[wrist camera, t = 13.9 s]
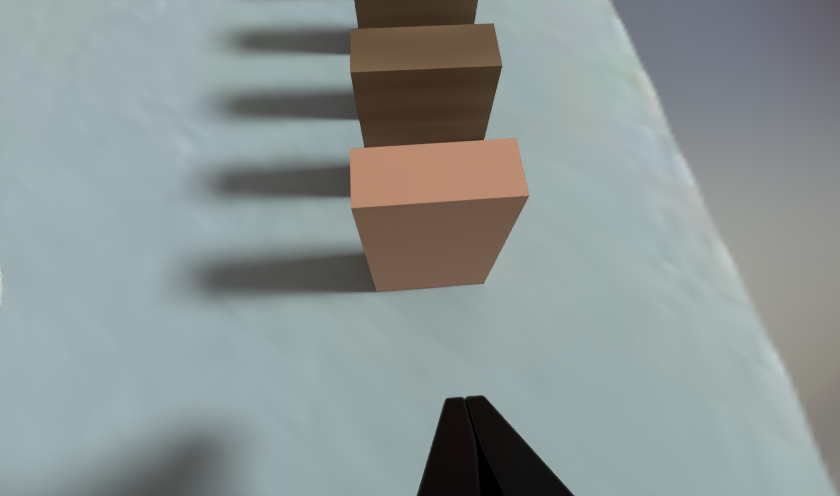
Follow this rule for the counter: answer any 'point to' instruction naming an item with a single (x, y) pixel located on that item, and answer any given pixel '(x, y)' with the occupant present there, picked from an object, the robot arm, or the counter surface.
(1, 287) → the white rounded piece
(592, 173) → the counter surface
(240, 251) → the counter surface
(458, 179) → the terracotta domino
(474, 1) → the walnut domino
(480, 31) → the walnut domino
